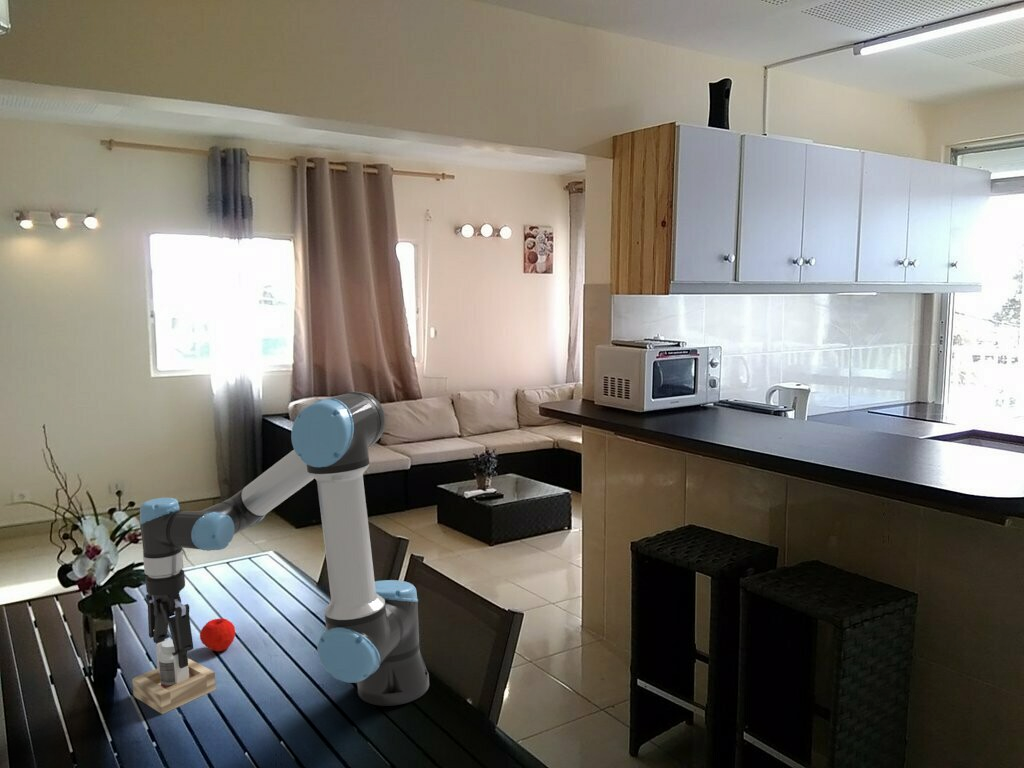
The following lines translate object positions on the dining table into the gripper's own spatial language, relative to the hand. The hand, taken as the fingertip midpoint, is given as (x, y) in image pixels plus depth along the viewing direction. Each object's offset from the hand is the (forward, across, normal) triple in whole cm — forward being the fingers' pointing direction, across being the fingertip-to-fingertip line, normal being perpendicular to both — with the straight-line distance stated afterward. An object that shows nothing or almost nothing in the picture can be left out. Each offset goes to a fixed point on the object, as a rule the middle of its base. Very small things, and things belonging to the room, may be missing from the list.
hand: (173, 675), depth 167 cm
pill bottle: (+3, 0, 0) cm, 3 cm away
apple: (+4, +11, -17) cm, 21 cm away
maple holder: (+4, 0, 0) cm, 4 cm away
